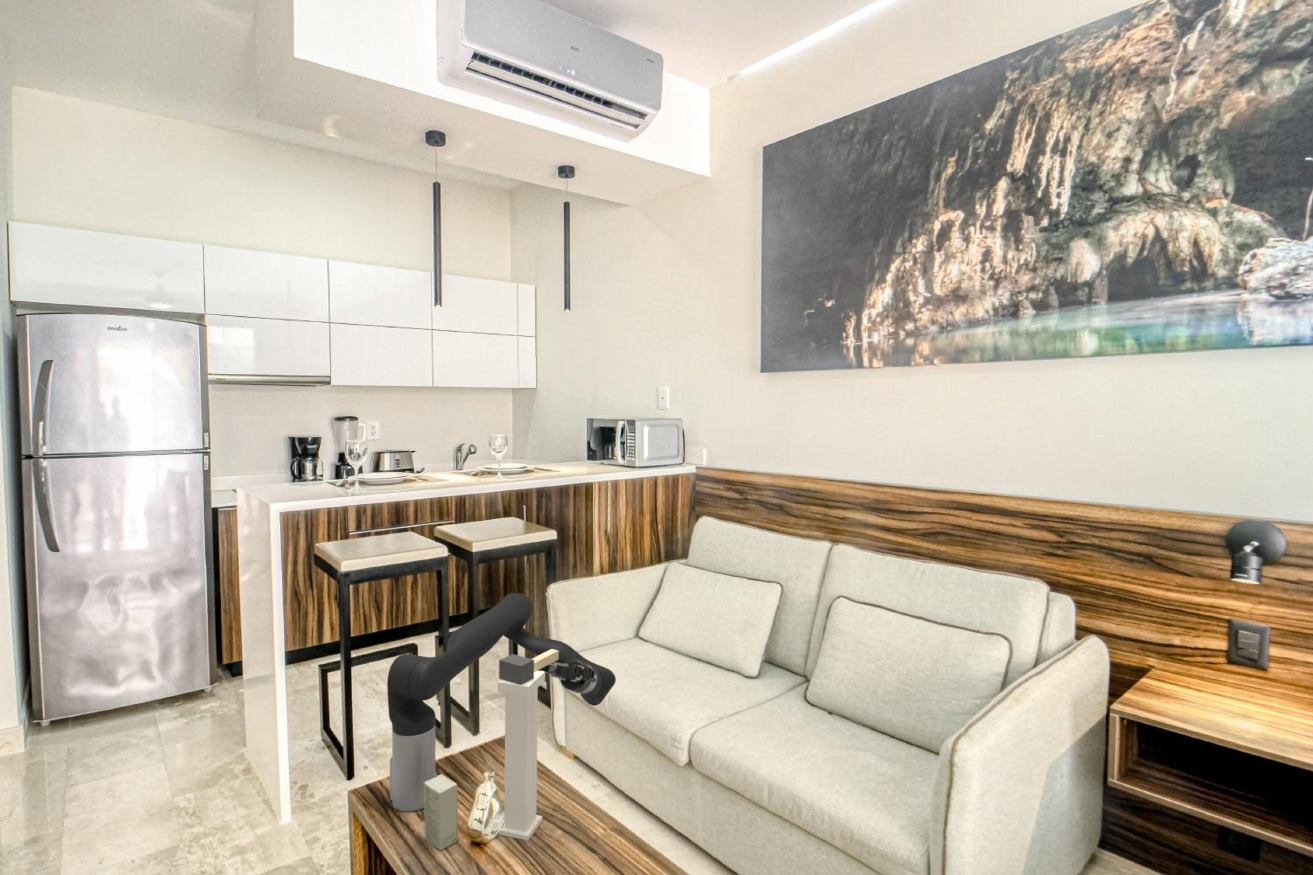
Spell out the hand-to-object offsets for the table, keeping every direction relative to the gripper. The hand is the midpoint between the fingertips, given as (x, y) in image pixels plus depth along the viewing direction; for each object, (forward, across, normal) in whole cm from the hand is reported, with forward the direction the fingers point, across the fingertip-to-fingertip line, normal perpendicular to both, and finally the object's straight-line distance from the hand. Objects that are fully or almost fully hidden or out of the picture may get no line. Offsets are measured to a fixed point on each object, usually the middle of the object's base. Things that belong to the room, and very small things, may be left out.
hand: (557, 667), depth 159 cm
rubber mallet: (+15, +1, +3) cm, 15 cm away
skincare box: (+9, -14, +38) cm, 41 cm away
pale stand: (+2, 0, +33) cm, 33 cm away
